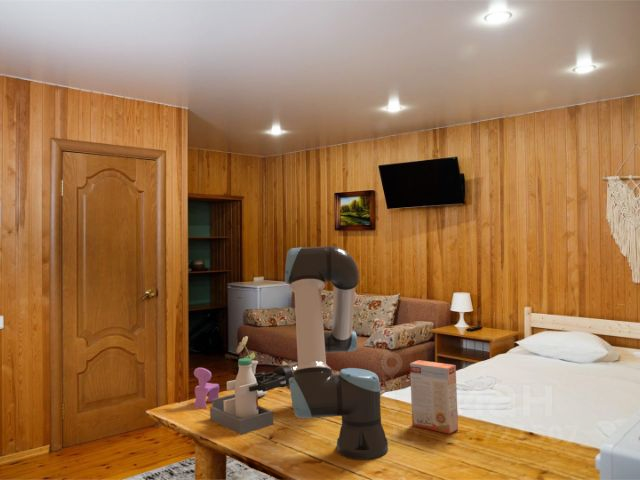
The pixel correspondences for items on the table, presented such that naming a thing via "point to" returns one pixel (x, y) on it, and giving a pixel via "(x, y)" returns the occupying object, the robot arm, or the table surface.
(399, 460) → the table surface
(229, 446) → the table surface
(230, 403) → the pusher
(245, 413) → the milk bottle
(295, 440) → the table surface
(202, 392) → the toy chair
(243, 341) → the flower in vase
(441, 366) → the cracker box
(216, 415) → the grey tray
